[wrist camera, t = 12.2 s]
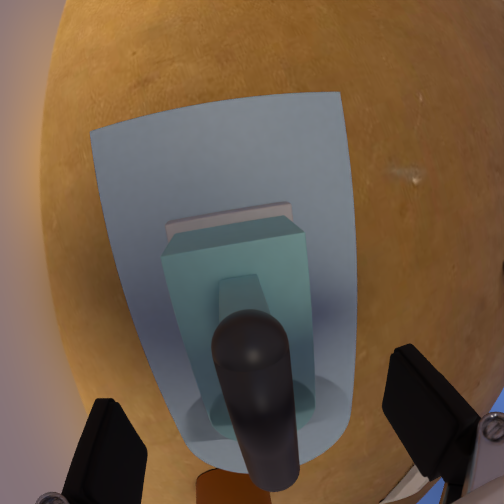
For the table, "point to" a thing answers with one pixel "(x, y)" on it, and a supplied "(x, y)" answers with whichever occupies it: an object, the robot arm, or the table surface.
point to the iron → (247, 329)
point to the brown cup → (229, 489)
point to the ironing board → (227, 198)
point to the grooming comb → (407, 486)
